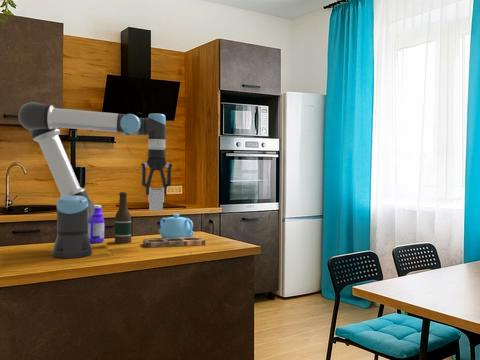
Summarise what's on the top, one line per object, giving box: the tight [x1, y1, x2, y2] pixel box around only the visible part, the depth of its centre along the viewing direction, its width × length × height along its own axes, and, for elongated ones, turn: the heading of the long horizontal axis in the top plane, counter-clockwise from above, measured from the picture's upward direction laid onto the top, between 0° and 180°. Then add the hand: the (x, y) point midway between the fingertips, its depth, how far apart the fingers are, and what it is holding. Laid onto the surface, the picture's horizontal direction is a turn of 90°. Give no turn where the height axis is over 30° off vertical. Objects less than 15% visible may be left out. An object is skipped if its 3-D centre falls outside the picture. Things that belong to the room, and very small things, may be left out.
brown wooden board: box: [142, 236, 206, 249], centre depth 215 cm, size 26×10×3 cm, turn 110°
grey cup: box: [148, 187, 164, 212], centre depth 212 cm, size 5×5×10 cm
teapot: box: [158, 213, 195, 239], centre depth 238 cm, size 20×20×13 cm
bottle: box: [88, 204, 105, 244], centre depth 226 cm, size 7×6×17 cm
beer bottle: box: [114, 191, 132, 245], centre depth 219 cm, size 8×8×24 cm
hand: (156, 202), depth 212 cm, fingers closed on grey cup, 5 cm apart
